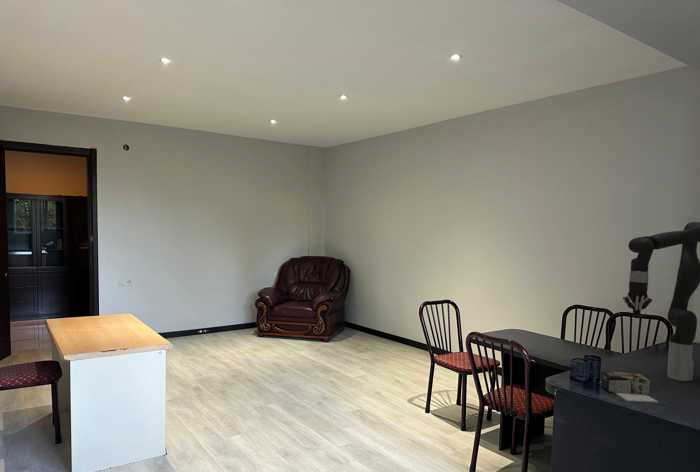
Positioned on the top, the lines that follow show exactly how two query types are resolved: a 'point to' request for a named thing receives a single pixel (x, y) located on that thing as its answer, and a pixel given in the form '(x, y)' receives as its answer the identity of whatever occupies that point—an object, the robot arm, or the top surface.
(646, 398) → the mat
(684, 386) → the top surface
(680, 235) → the robot arm
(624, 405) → the top surface
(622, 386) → the coffee box
